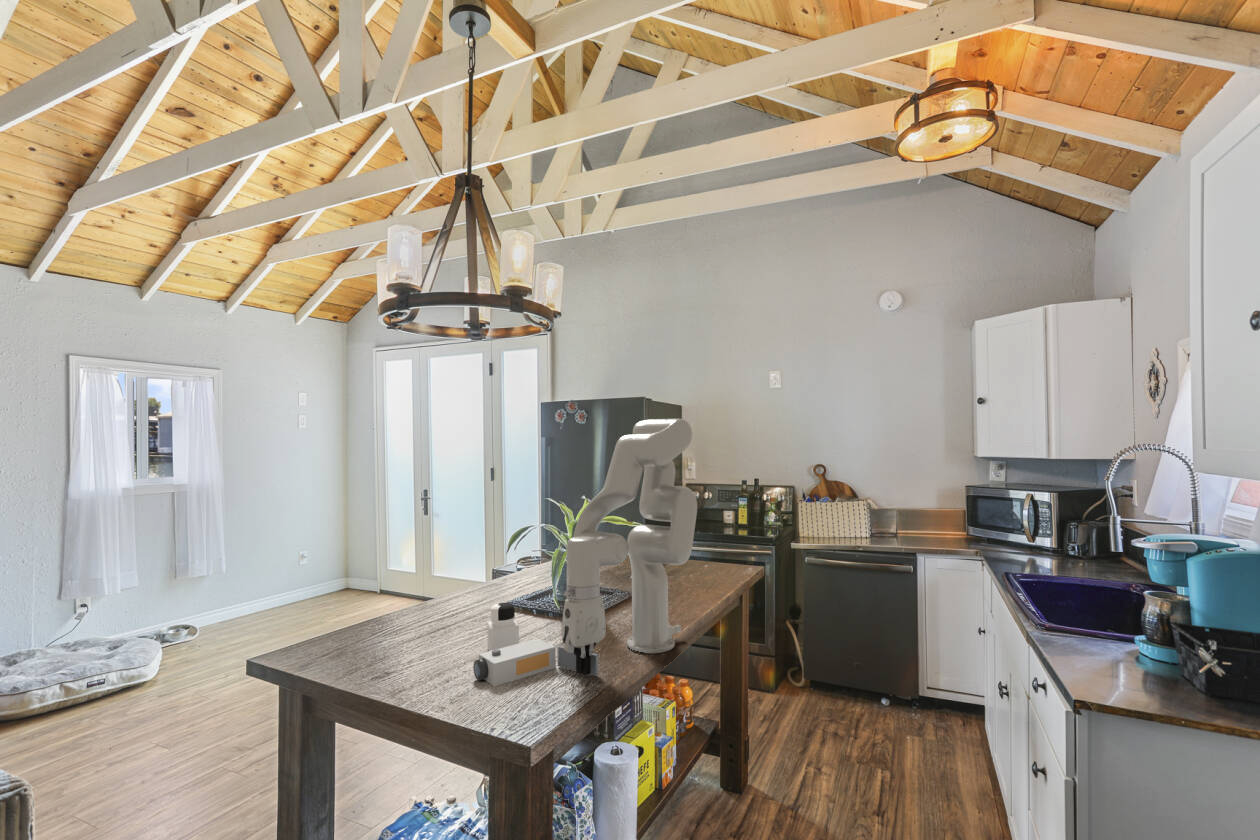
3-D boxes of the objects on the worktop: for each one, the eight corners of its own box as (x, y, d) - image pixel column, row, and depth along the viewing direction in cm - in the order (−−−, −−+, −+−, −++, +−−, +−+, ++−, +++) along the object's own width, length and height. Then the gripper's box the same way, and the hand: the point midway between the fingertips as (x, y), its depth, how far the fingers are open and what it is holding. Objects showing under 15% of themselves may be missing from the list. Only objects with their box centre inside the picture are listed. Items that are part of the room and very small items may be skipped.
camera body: (538, 658, 147) (538, 635, 148) (555, 667, 141) (555, 643, 141) (471, 677, 136) (471, 652, 136) (487, 688, 130) (487, 662, 130)
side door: (556, 666, 142) (556, 646, 142) (560, 664, 143) (560, 644, 143) (596, 675, 135) (595, 655, 135) (599, 673, 136) (599, 653, 137)
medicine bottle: (514, 644, 158) (514, 599, 158) (519, 653, 151) (518, 606, 152) (487, 648, 155) (487, 602, 156) (491, 657, 149) (490, 609, 149)
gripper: (570, 600, 127) (570, 687, 126) (617, 588, 138) (617, 668, 137) (547, 595, 132) (547, 678, 131) (594, 583, 143) (595, 660, 142)
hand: (583, 673), depth 134 cm, fingers closed
